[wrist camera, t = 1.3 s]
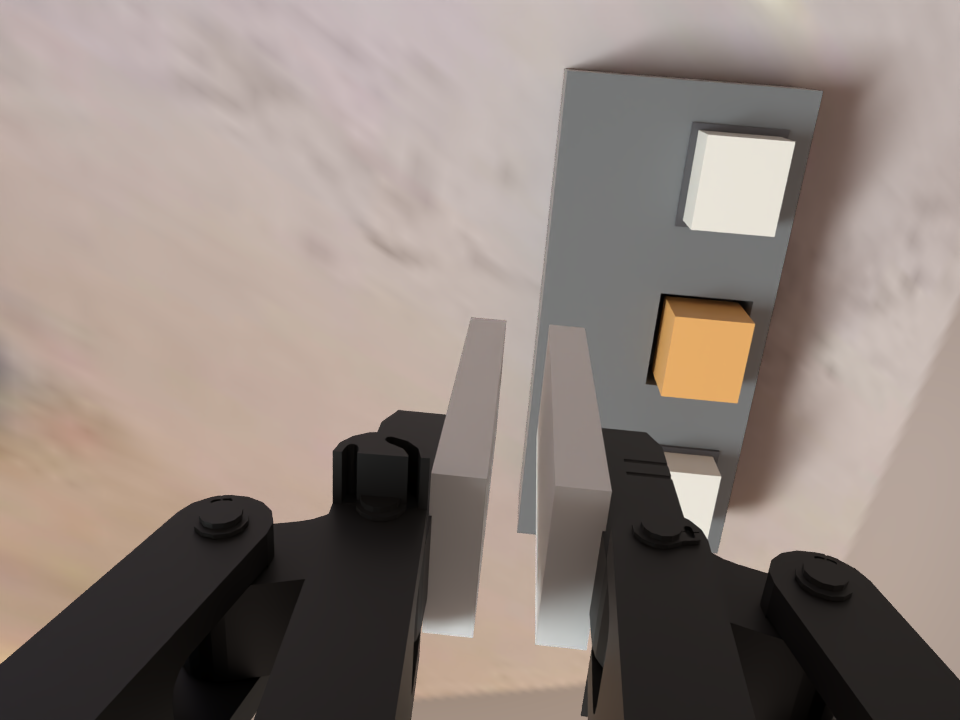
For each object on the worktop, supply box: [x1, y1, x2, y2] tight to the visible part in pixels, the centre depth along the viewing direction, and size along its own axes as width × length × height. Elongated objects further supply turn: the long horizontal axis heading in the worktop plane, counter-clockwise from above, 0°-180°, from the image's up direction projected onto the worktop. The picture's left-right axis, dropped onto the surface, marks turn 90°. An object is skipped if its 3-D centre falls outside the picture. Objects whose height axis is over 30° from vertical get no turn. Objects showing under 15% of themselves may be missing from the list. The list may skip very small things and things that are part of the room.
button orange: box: [652, 296, 755, 403], centre depth 37 cm, size 4×4×3 cm
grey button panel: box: [517, 69, 823, 553], centre depth 38 cm, size 24×11×6 cm, turn 176°
